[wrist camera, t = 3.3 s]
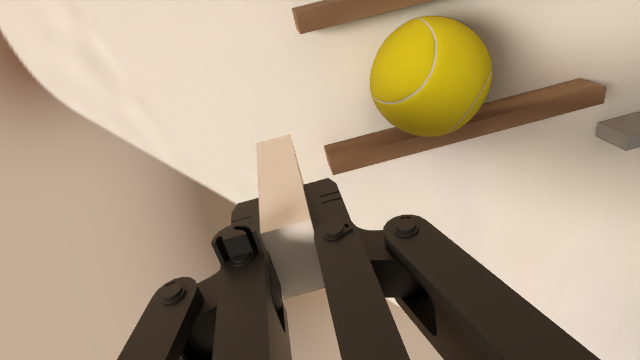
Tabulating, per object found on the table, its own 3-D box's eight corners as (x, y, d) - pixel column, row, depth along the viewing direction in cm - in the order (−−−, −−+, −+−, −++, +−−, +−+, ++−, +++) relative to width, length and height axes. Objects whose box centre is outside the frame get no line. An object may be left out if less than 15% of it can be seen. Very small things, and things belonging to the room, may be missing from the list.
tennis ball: (476, 42, 27) (541, 64, 21) (420, 129, 29) (463, 170, 23) (395, -10, 25) (441, -3, 18) (341, 89, 27) (366, 123, 21)
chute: (578, 93, 30) (603, 103, 28) (327, 160, 29) (333, 175, 27) (597, -70, 25) (631, -74, 22) (291, 8, 24) (295, 12, 22)
